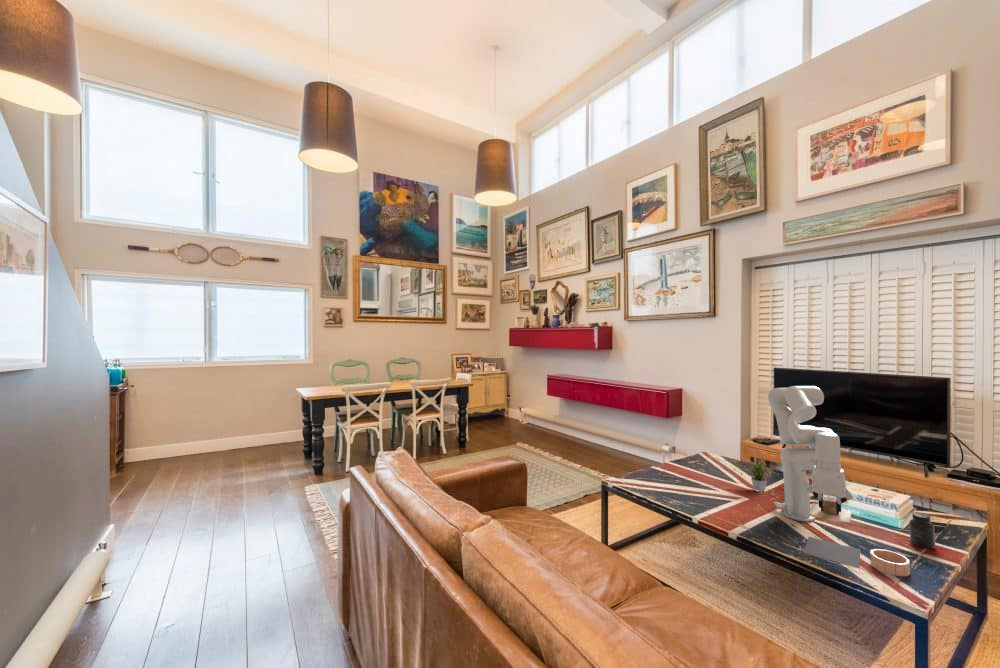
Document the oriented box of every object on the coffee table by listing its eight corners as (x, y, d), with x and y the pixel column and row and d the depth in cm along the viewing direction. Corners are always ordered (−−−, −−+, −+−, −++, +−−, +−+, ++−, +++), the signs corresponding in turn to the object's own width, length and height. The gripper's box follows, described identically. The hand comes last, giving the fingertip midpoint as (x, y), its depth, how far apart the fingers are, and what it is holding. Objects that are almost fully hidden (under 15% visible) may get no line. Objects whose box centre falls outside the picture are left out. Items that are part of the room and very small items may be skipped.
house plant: (747, 482, 227) (745, 454, 227) (776, 488, 218) (774, 458, 218) (740, 490, 217) (739, 460, 217) (771, 496, 207) (769, 465, 207)
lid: (809, 515, 154) (808, 500, 154) (812, 504, 163) (811, 490, 163) (850, 525, 146) (849, 509, 146) (851, 513, 155) (850, 498, 155)
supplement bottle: (940, 550, 153) (939, 519, 153) (920, 549, 155) (918, 518, 155) (925, 540, 160) (923, 511, 160) (905, 540, 161) (904, 510, 161)
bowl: (871, 571, 142) (870, 557, 142) (871, 559, 149) (870, 546, 149) (911, 582, 135) (910, 568, 135) (909, 569, 143) (908, 555, 143)
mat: (804, 555, 154) (804, 553, 154) (808, 539, 165) (808, 536, 165) (859, 571, 143) (859, 568, 143) (860, 552, 154) (860, 549, 154)
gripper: (800, 463, 157) (802, 509, 157) (856, 472, 146) (858, 521, 146) (802, 458, 163) (804, 502, 163) (857, 466, 151) (859, 514, 151)
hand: (830, 511), depth 154 cm, fingers closed on lid, 4 cm apart
